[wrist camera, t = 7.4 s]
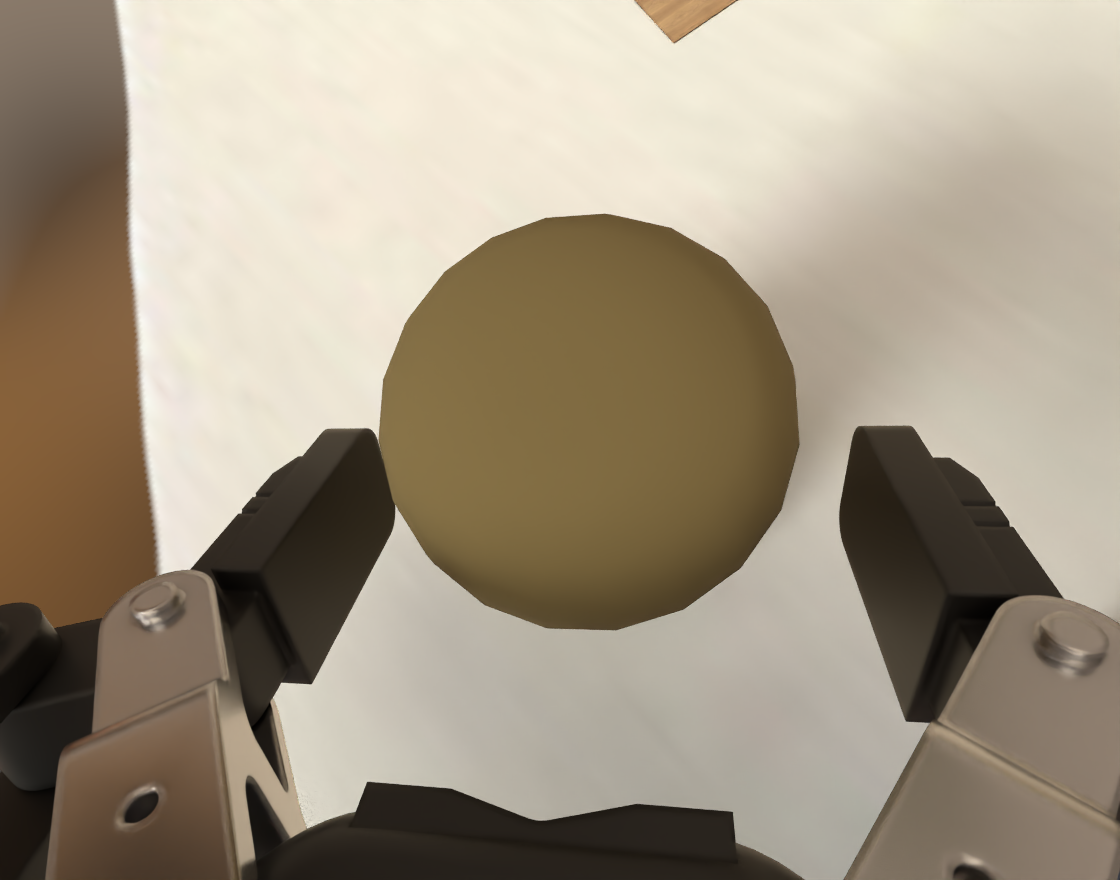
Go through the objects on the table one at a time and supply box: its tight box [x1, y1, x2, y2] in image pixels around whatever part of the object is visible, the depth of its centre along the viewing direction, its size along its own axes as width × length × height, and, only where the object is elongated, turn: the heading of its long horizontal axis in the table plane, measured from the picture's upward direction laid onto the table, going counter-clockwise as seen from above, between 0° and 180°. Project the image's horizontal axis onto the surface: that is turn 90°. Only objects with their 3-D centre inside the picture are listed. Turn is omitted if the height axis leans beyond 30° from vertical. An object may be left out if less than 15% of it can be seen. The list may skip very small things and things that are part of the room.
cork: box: [379, 214, 799, 630], centre depth 12 cm, size 6×6×11 cm
